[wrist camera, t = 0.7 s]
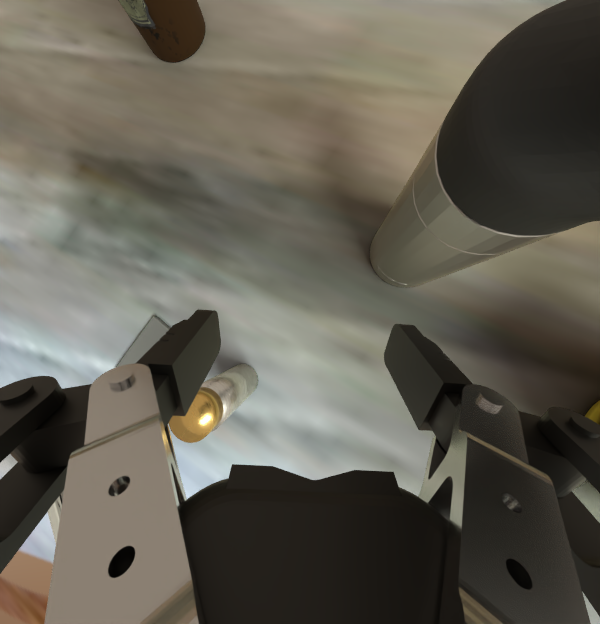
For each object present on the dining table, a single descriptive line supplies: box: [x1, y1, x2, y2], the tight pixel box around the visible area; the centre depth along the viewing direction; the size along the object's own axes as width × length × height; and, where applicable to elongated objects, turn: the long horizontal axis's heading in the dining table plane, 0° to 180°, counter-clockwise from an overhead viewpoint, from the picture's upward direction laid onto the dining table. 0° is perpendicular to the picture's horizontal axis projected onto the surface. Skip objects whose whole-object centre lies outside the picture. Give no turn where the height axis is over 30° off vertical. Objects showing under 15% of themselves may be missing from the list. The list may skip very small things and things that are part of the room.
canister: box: [169, 364, 258, 443], centre depth 24 cm, size 4×4×12 cm
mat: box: [117, 316, 170, 367], centre depth 31 cm, size 10×10×1 cm
